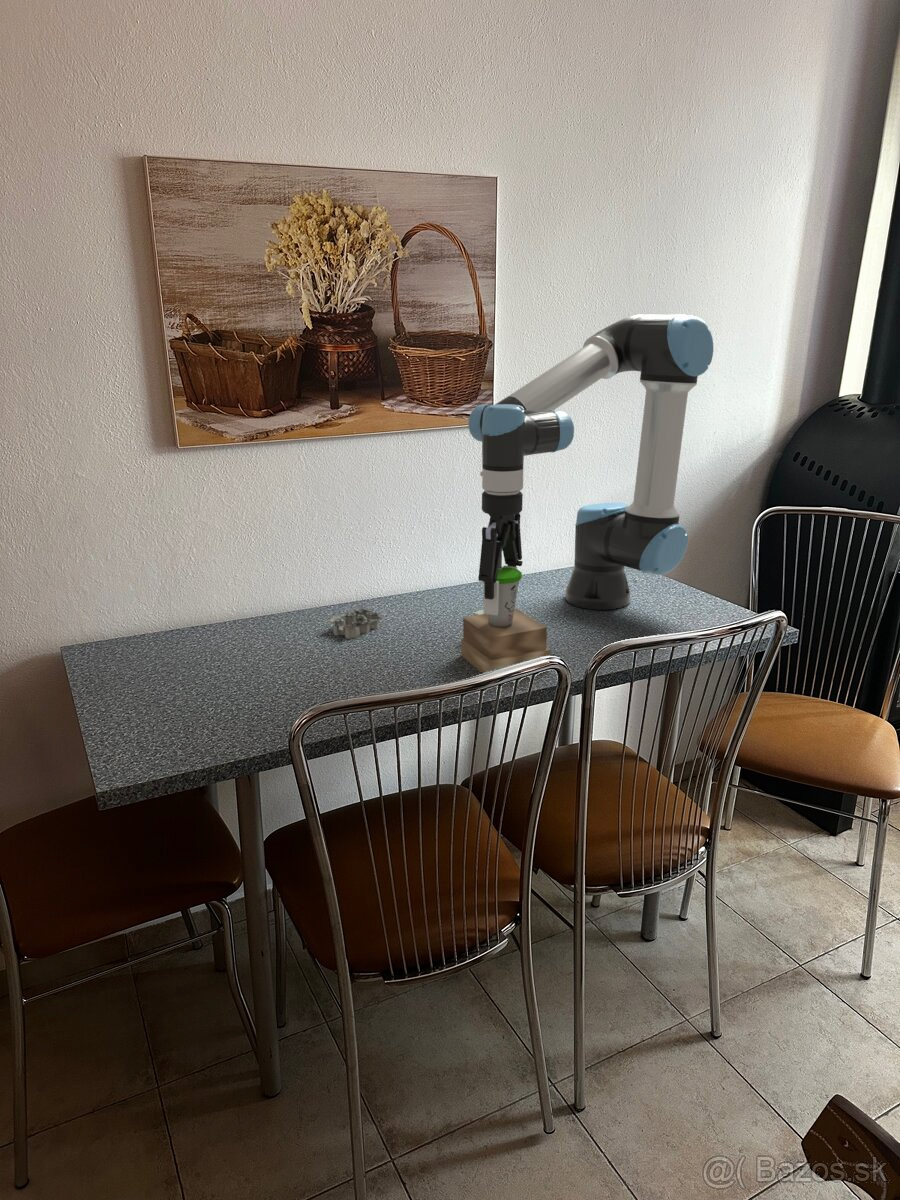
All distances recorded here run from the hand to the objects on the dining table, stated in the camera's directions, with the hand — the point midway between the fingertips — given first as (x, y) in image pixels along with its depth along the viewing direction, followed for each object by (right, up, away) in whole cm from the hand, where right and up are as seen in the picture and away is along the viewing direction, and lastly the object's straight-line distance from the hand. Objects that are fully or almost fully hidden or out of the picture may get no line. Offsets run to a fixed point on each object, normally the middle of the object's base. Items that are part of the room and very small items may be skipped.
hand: (500, 605), depth 166 cm
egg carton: (-30, -6, +22) cm, 38 cm away
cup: (0, -4, +1) cm, 4 cm away
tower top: (+1, -7, +3) cm, 8 cm away
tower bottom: (+1, -12, +5) cm, 13 cm away
